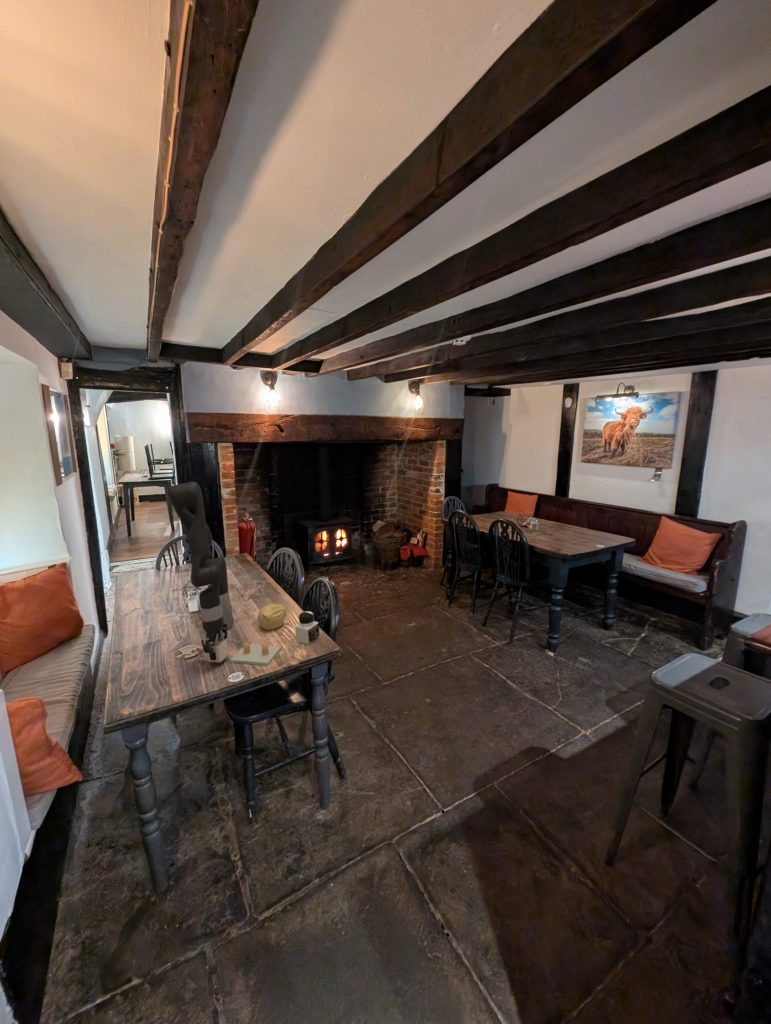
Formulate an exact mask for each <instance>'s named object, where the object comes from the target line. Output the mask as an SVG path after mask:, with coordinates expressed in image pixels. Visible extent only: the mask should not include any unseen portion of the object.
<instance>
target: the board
mask: <svg viewBox="0 0 771 1024" xmlns="http://www.w3.org/2000/svg"><path fill="white" fill-rule="evenodd" d="M282 650H283V649H282V646H280V645H279V646H278V645H268V642H263V643H262V644H253V643H252V644H251V643H250V642H249V641H245V642H243V643H242V647H241V649H239V650H238V651H237V652H236V653H235V654H234V655H233V656H232V657H231V658H230V659H229V662H230V663H231V664H242V665H255V666H266V667H267V666H270V664H271V663H272V662H273V660H274V659H275V658H276V657H277V655H278V654H279V653H280V652H281V651H282Z"/></svg>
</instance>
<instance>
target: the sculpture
mask: <svg viewBox="0 0 771 1024" xmlns="http://www.w3.org/2000/svg"><path fill="white" fill-rule="evenodd" d="M286 610H287V609H286V608H285V606H284V605H283V604H279V603H275V602H274V603H271V604H266V605H264V606H263V607H261V608H260V610H259V611H258V613H257V621H258V624H259V626H260V627H261V628H262V629H264V630H267V631H273V630H276V629H279V628H280V627H281V626H282V625H283V623H284V620H285V618H286V616H287V611H286Z"/></svg>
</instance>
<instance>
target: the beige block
mask: <svg viewBox="0 0 771 1024" xmlns="http://www.w3.org/2000/svg"><path fill="white" fill-rule="evenodd" d="M210 643H214V642H210ZM212 648H213V646H211V649H212ZM215 652H216V660H215V661H213V660H210V655H209V653H206V655H207V661H208V662H215V663H221V662H223V661H224V659H226V658H227V656H228V655H229V649H228V642H227V640H225V641H222V640H217V645H216V646H215Z"/></svg>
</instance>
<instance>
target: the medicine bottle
mask: <svg viewBox="0 0 771 1024" xmlns="http://www.w3.org/2000/svg"><path fill="white" fill-rule="evenodd" d="M298 619H299V621H298V622H299V623H297V624H296V625H295V627H294V629H295V636H296V637H295V638H296V642H298V643H302V644H305V645H311V644H313V643H314V642H315V641H316V640H318V639H319V638H320V626H319V625H320V624H319V622H318V621H315V618H314V613H313V612H312V611H303V612H300V614H299V615H298Z"/></svg>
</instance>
